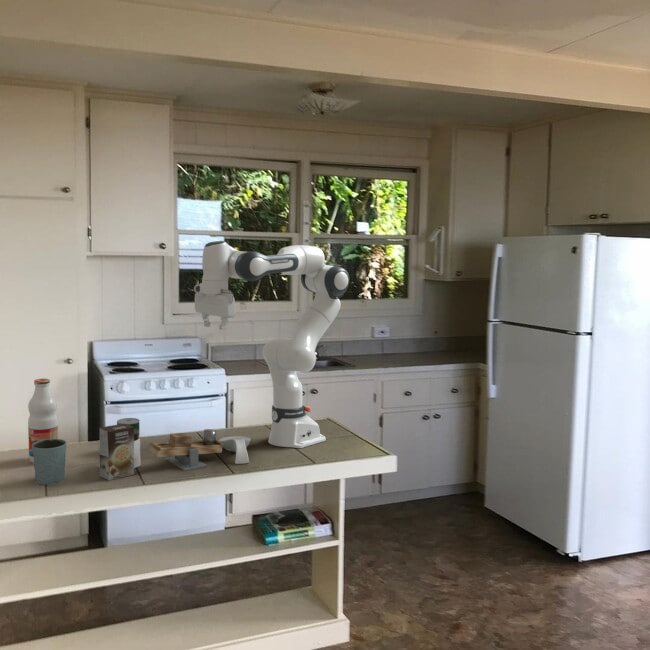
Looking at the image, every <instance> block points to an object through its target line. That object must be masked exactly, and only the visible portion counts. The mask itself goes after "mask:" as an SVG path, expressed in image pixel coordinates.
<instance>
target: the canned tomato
mask: <svg viewBox="0 0 650 650" xmlns="http://www.w3.org/2000/svg"><path fill="white" fill-rule="evenodd" d="M118 424H128V425H131V426H133V427H134V429H137V430H138V431H139V439H140V440H141V438H140V430H141V429H140V419H139V418H137V417H125V418H120V419H117V420H116V425H118Z"/></svg>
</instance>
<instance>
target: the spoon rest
mask: <svg viewBox="0 0 650 650" xmlns="http://www.w3.org/2000/svg"><path fill="white" fill-rule="evenodd" d="M251 440H252V439H251V438H250V437H248V436H242V435H238V436H237V435H234V436H233V435H232V436H227V437H225V436H224V437H221V438H219V439H218V440H217V441H219V442H221V443H223V446H222V449H224V450H226V451H227V450H228V452H230V451H233V452H234V453H235V462H234V463H235V465H240V464H241V465H243V464H249V463H250V459H249V455H248V451H247V448H248V446H249V445H250V443H251ZM233 452H232V453H233Z"/></svg>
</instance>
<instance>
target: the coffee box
mask: <svg viewBox="0 0 650 650" xmlns="http://www.w3.org/2000/svg"><path fill="white" fill-rule="evenodd" d="M133 475H135V468H134V427H133V426H131V425H128V424H118V425H117V424H113V425H112V424H111V425H107V426H101V427H99V476H100V477H101V478H103V479H105V480H107V481H113V480H117V479H121V478H126V477H129V476H133Z"/></svg>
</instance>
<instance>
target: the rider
mask: <svg viewBox="0 0 650 650" xmlns="http://www.w3.org/2000/svg"><path fill="white" fill-rule="evenodd" d="M192 441H193V435H190V434H188V433H186V432H181V433H170V434H169V440H168V443H169V446H171V447H172V448H174V447H190V446H191V443H192Z"/></svg>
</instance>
